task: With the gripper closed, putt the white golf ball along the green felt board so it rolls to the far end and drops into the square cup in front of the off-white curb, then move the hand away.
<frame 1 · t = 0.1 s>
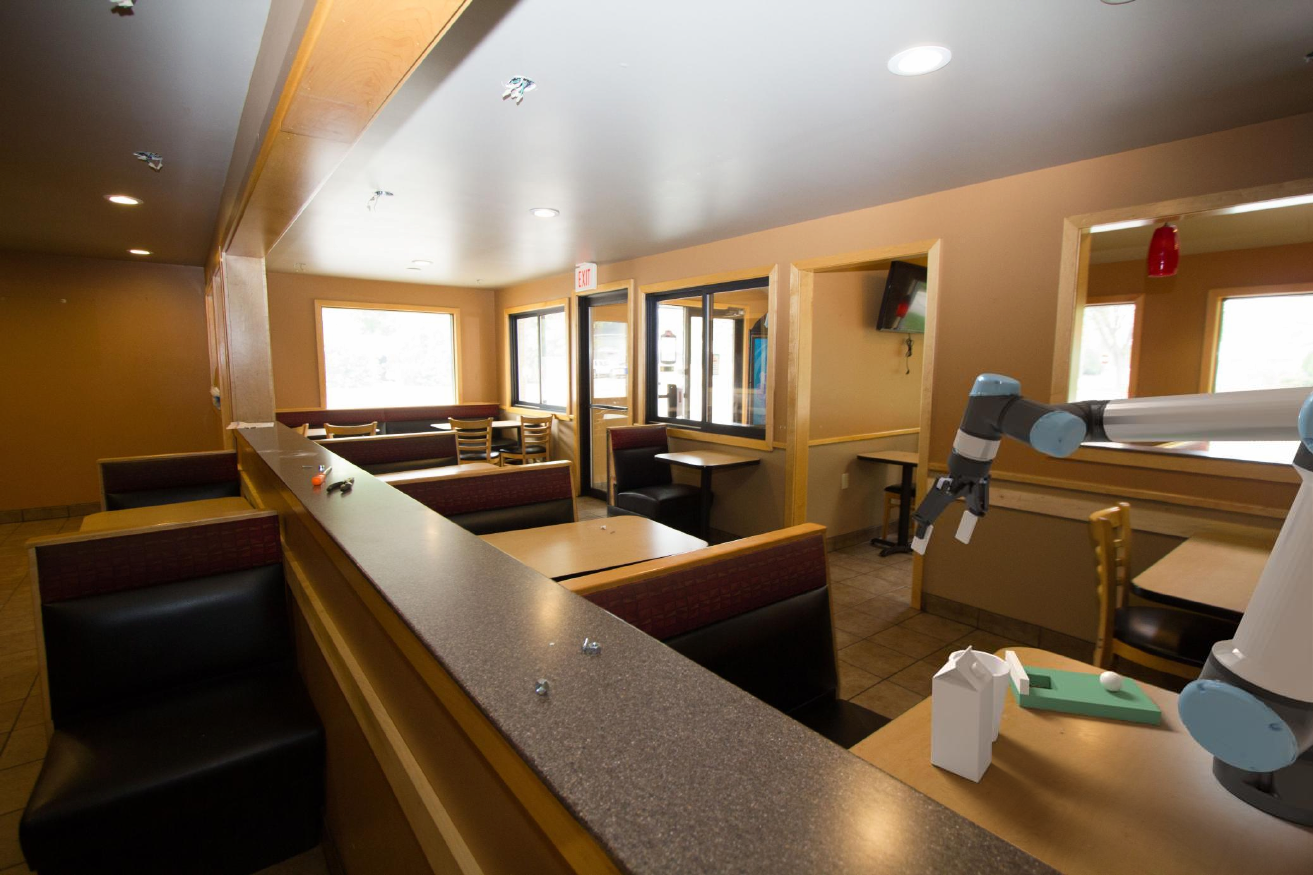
hand: (939, 545, 123), 28 cm above the table, tool tilted 20°, fingers open, 13 cm apart
golf ball: (1110, 690, 113), point 2 cm above the table, touching putting board
milk carton: (961, 764, 97), on the table
putting board: (1076, 698, 115), on the table
foam cup: (977, 733, 106), on the table
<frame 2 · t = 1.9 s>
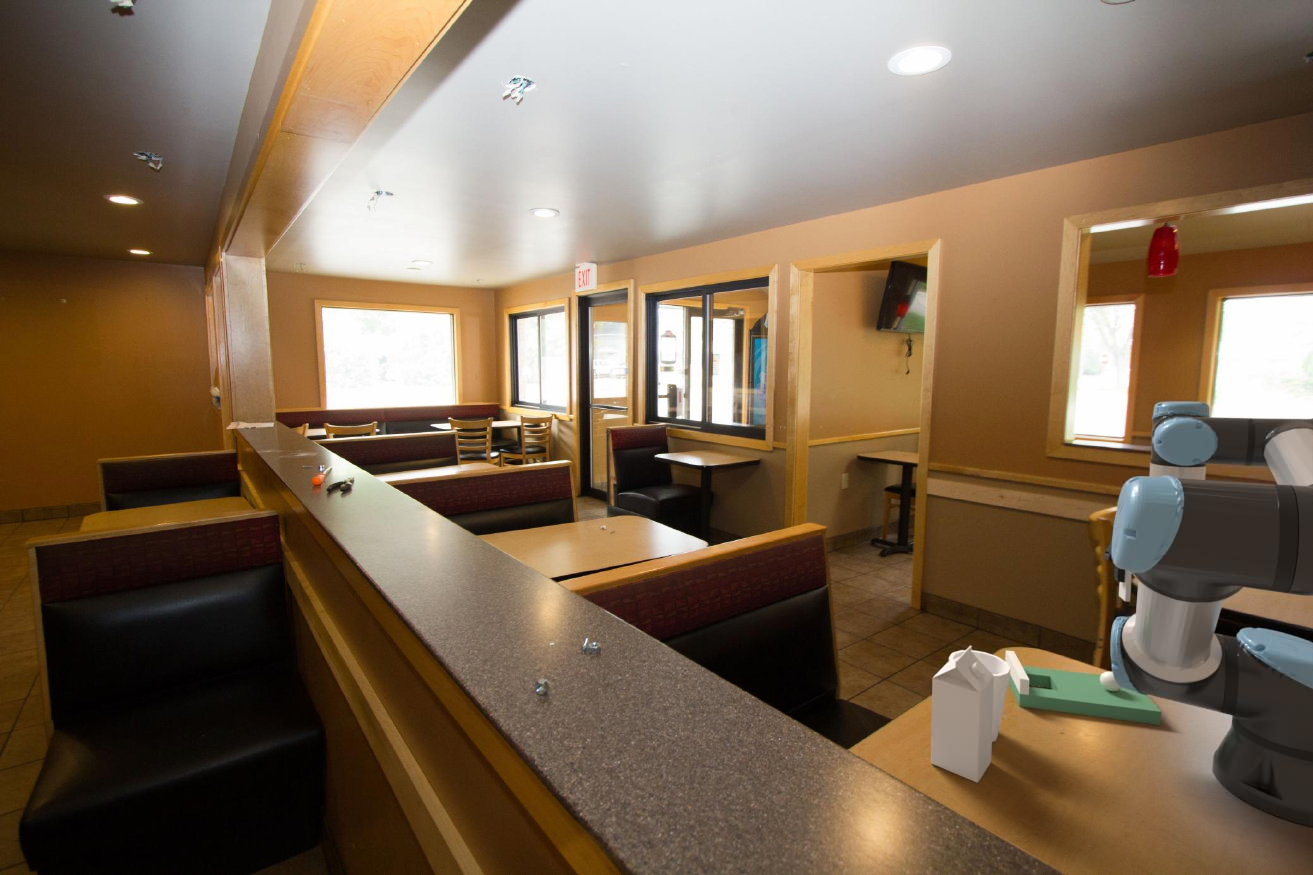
hand: (1168, 602, 108), 21 cm above the table, tool pointing down, fingers open, 13 cm apart
nothing on the table moved.
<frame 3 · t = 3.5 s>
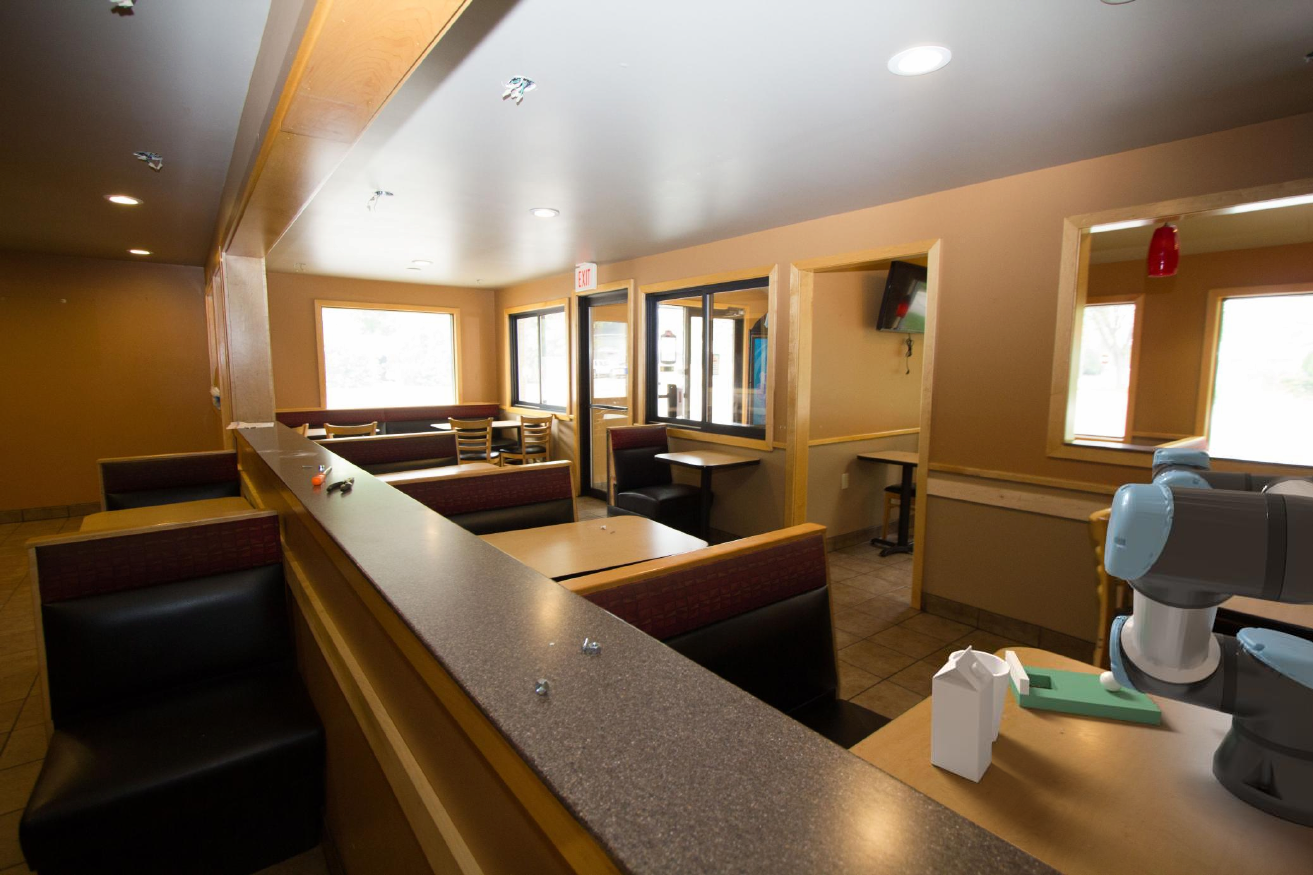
hand: (1167, 658, 110), 10 cm above the table, tool pointing down, fingers closed
nothing on the table moved.
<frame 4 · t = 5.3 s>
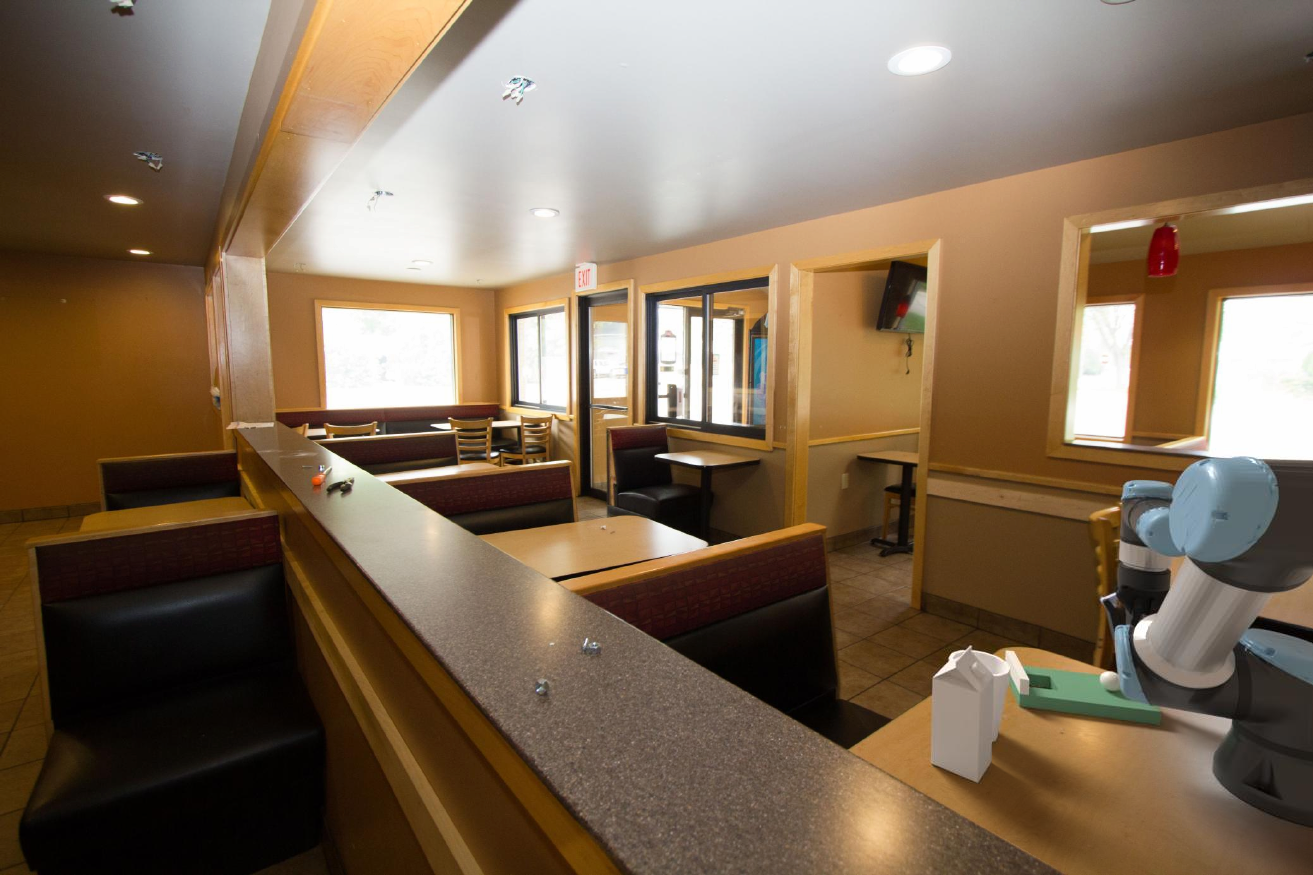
hand: (1136, 685, 112), 4 cm above the table, tool pointing down, fingers closed
nothing on the table moved.
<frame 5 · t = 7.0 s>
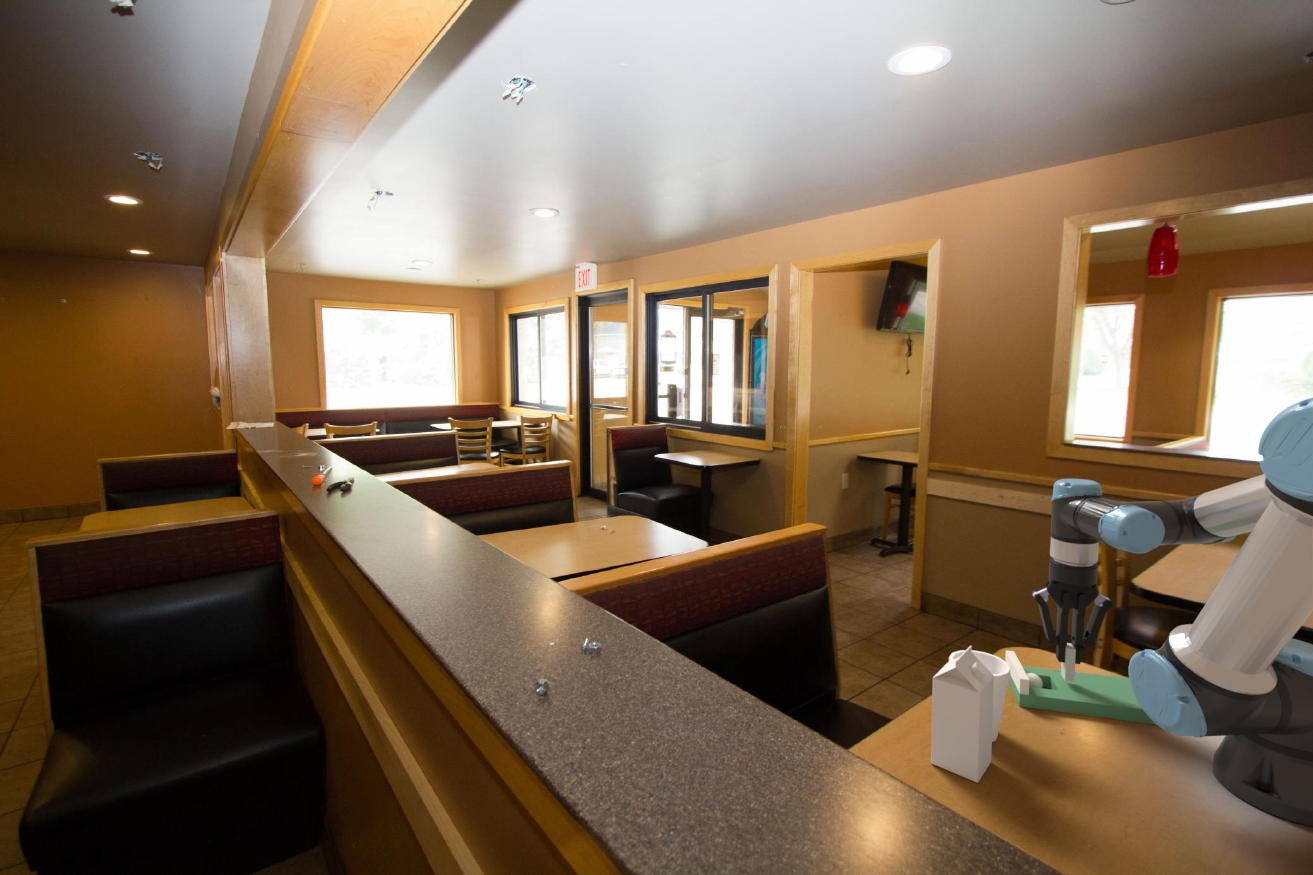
hand: (1067, 677, 115), 4 cm above the table, tool pointing down, fingers closed
golf ball: (1042, 684, 117), point 2 cm above the table, tilted 86°
everything else where it was.
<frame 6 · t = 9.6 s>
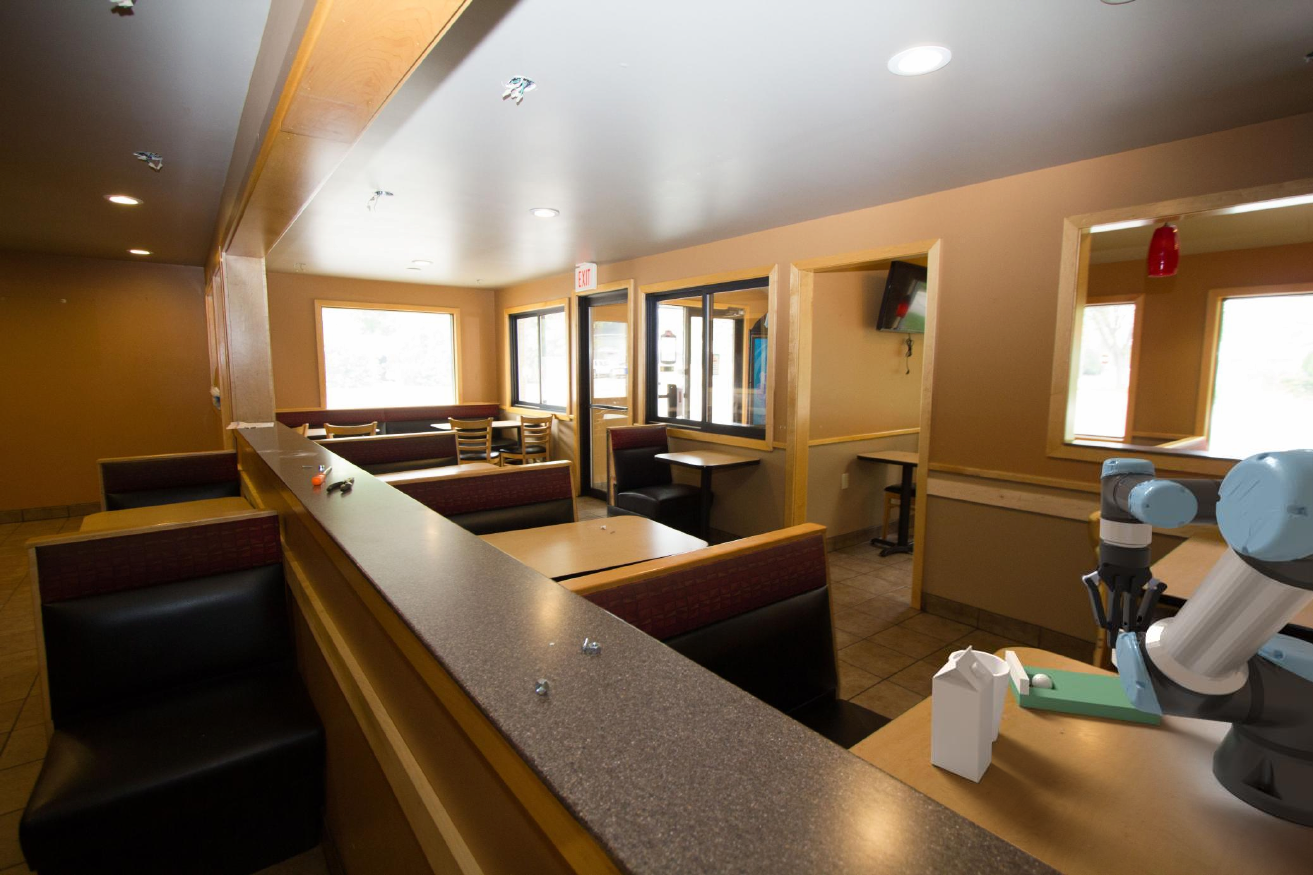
hand: (1119, 665, 111), 8 cm above the table, tool pointing down, fingers closed
golf ball: (1046, 691, 117), resting in putting board, tilted 29°
everything else where it was.
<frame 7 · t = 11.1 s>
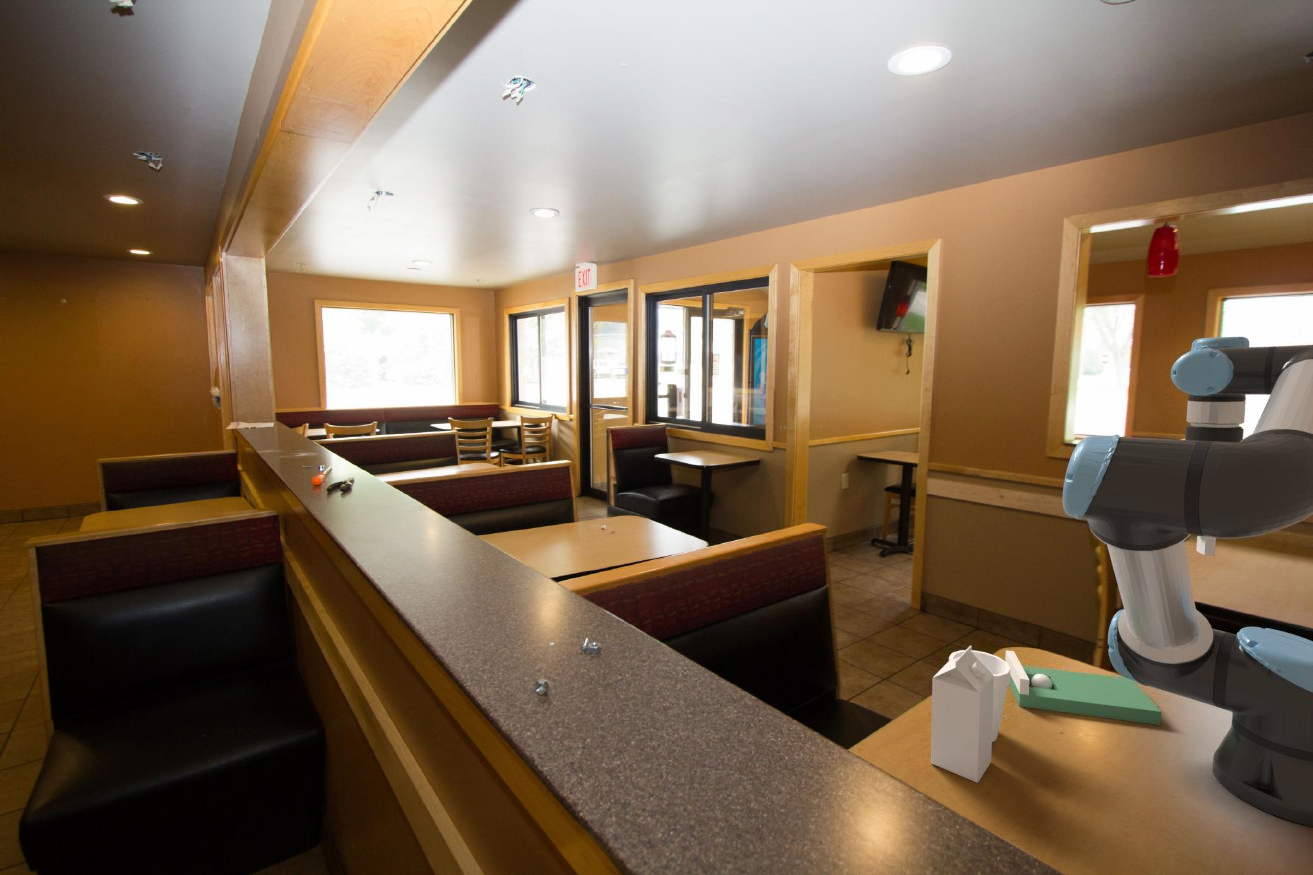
hand: (1205, 553, 108), 29 cm above the table, tool pointing down, fingers closed
nothing on the table moved.
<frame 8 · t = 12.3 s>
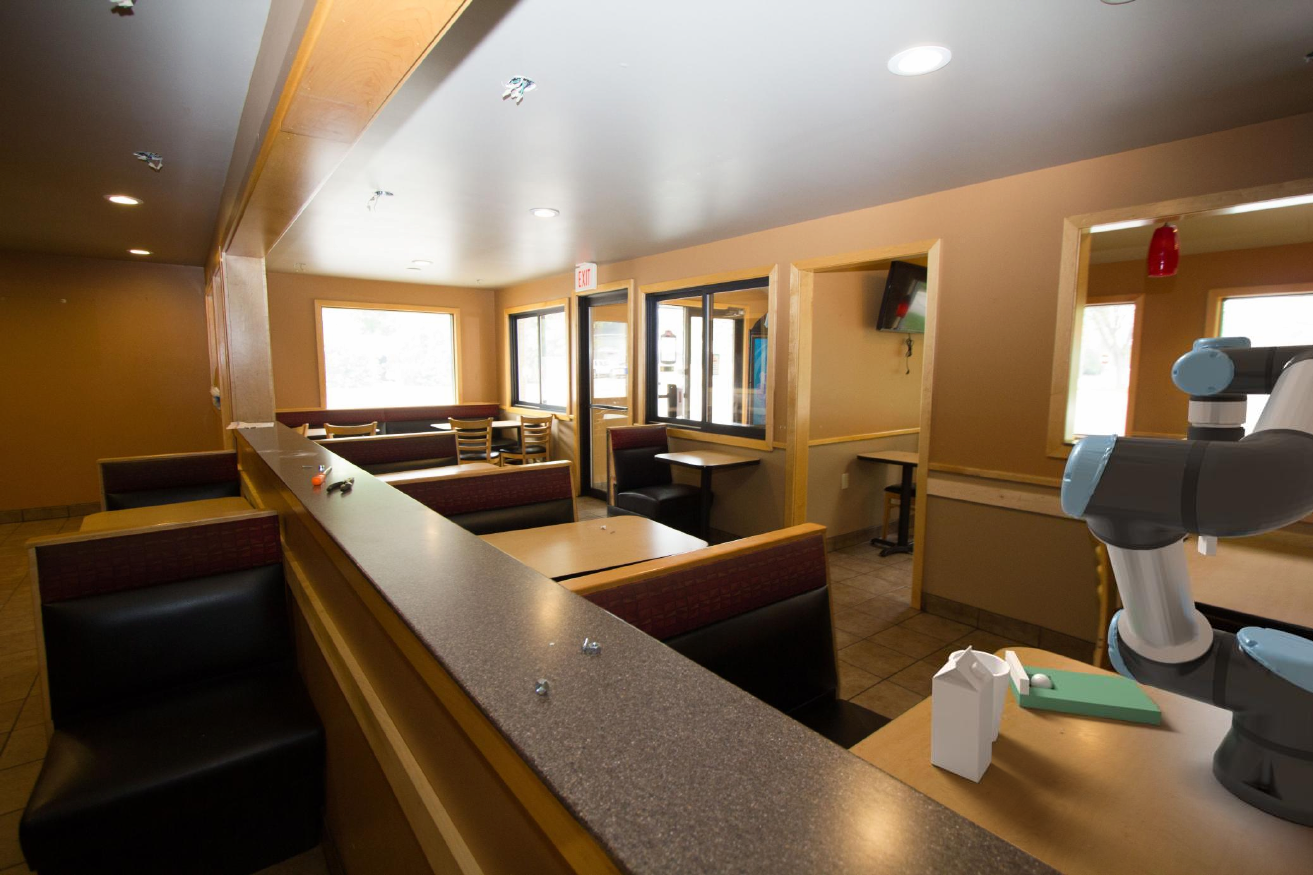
hand: (1206, 553, 108), 29 cm above the table, tool pointing down, fingers closed
nothing on the table moved.
at the end: golf ball 2.0 cm from the target spot on the putting board, point 0.3 cm above the putting board's base; the gripper is holding nothing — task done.
